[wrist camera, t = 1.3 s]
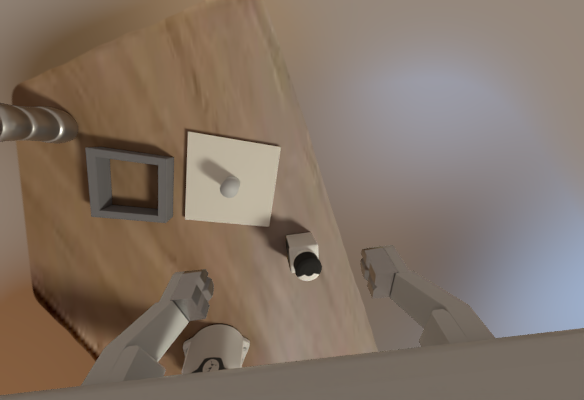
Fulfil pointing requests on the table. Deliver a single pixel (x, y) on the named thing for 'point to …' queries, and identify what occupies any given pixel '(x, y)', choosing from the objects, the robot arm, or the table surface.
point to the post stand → (230, 180)
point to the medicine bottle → (303, 256)
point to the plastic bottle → (36, 124)
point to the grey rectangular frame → (103, 194)
